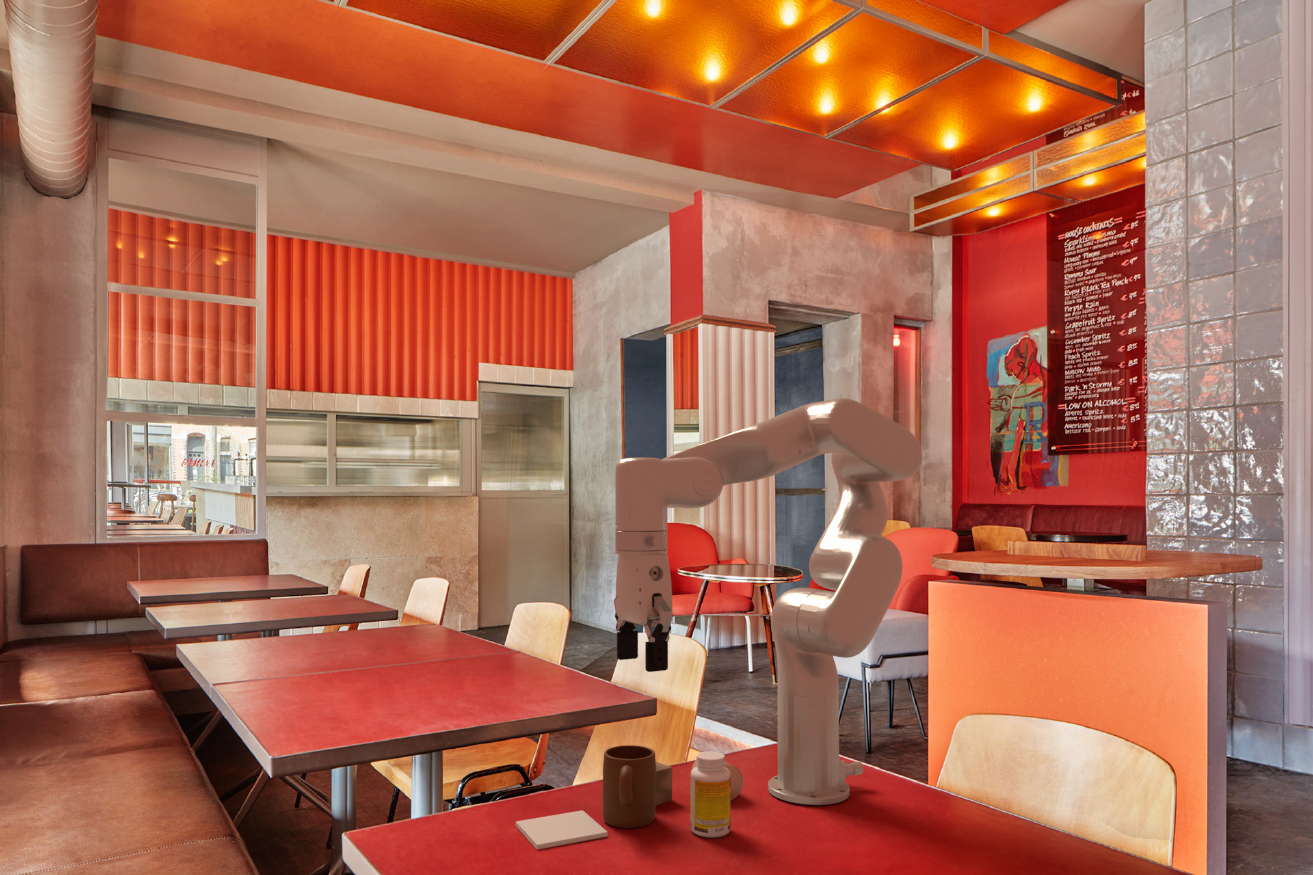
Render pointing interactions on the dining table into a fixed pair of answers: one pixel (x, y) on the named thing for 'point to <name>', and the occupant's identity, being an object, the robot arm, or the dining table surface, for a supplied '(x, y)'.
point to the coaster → (560, 829)
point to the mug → (629, 786)
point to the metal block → (663, 783)
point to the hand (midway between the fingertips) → (641, 664)
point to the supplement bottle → (710, 796)
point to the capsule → (732, 779)
